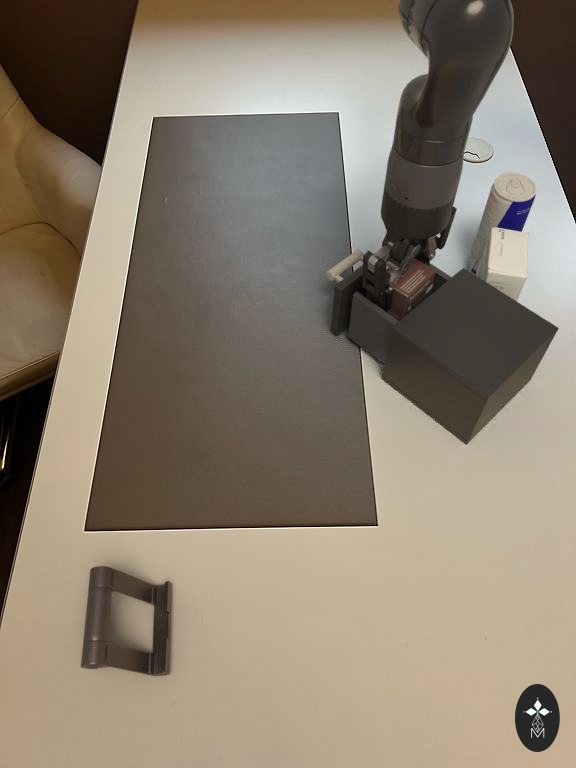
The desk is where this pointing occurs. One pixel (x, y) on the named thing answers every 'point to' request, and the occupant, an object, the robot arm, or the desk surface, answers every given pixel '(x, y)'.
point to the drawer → (364, 307)
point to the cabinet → (465, 353)
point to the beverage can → (503, 211)
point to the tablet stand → (98, 616)
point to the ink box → (505, 261)
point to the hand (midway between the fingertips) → (399, 292)
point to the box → (409, 288)
